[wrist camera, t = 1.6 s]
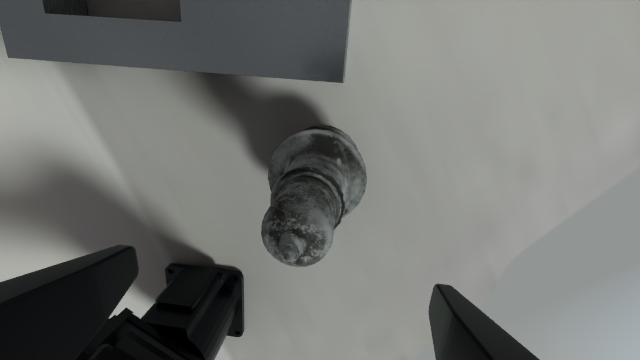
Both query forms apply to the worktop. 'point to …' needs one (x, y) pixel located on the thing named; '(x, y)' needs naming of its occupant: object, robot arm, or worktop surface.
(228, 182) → the worktop surface
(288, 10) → the grey flat block
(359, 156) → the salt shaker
